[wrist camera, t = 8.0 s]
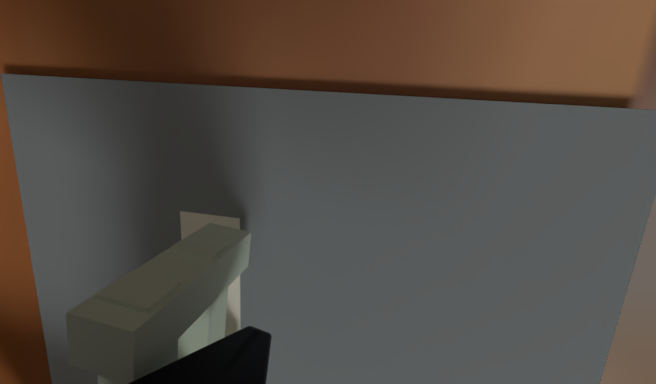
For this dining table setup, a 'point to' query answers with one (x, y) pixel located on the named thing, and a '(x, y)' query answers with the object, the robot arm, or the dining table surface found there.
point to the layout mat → (347, 220)
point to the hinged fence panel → (159, 308)
